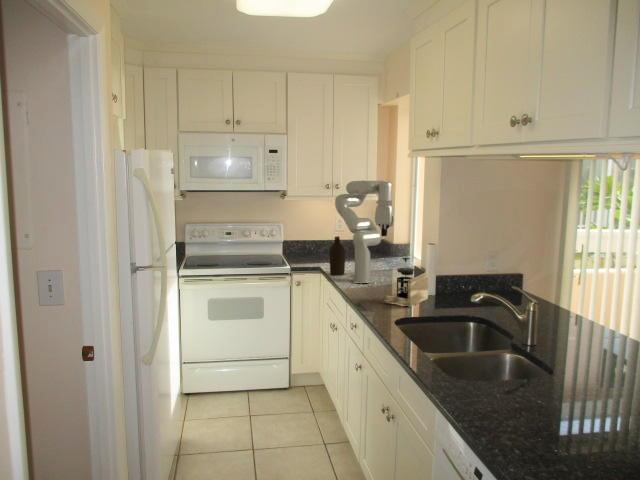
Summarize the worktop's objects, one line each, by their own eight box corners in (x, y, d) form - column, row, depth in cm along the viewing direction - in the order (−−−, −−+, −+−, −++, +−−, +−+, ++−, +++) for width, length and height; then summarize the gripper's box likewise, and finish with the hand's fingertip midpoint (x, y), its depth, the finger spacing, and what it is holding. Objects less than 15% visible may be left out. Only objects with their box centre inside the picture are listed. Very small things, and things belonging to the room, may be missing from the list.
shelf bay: (383, 303, 252) (384, 276, 250) (402, 294, 269) (402, 269, 267) (410, 307, 244) (410, 280, 242) (427, 298, 260) (428, 272, 258)
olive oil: (336, 276, 316) (336, 238, 312) (326, 274, 324) (325, 236, 320) (348, 274, 322) (348, 236, 319) (338, 271, 330) (337, 235, 327)
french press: (398, 304, 251) (399, 260, 247) (392, 299, 260) (392, 256, 256) (420, 302, 253) (421, 258, 250) (412, 297, 262) (413, 255, 259)
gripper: (370, 203, 275) (369, 235, 278) (393, 205, 266) (392, 238, 269) (377, 202, 281) (376, 233, 284) (400, 204, 271) (399, 236, 275)
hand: (384, 235), depth 276 cm, fingers closed
